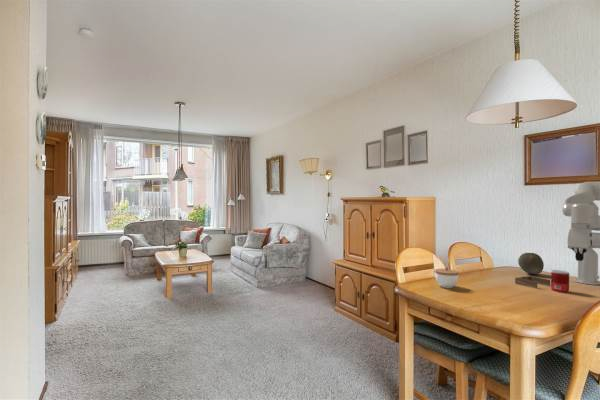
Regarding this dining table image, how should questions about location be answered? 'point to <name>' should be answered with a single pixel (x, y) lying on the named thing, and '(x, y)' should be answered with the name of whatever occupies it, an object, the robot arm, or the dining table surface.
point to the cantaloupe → (531, 263)
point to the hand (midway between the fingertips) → (579, 260)
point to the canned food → (560, 281)
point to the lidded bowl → (446, 277)
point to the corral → (531, 281)
